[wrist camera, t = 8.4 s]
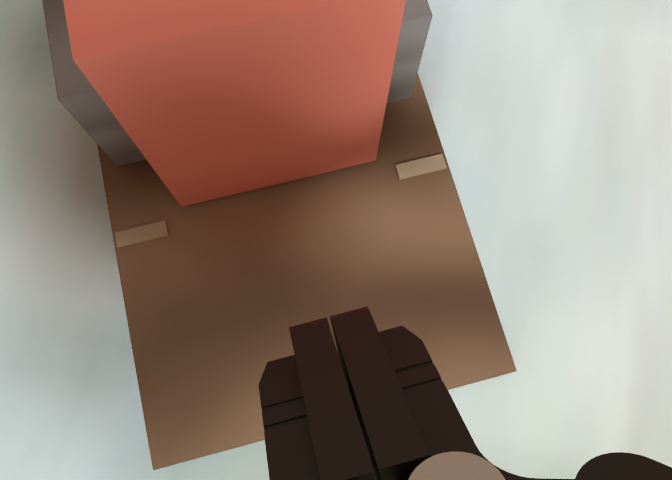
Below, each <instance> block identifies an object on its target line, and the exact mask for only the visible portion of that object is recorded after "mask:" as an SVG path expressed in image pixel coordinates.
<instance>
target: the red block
mask: <svg viewBox="0 0 672 480" xmlns="http://www.w3.org/2000/svg"><path fill="white" fill-rule="evenodd" d="M405 2H406V0H63V3H64V9H65V15H66V21H67V27H68V33H69V39H70V45H71V51H72V57H73V60H74V62H75V63H76V64H77V66H78V67H79V68H80V70H81V71H82V72H83V74H84V75H85V76H86V78H87V79H88V81H89V82H90V83H91V85H92V86H93V87H94V89H95V90H96V91H97V93H98V94H99V96H100V97H101V98H102V100H103V101H104V102H105V104H106V105H107V106H108V108H109V109H110V111H111V112H112V113H113V115H114V116H115V117H116V119H117V120H118V121H119V123H120V124H121V125H122V127H123V128H124V130H125V131H126V132H127V134H128V135H129V136H130V138H131V139H132V140H133V142H134V143H135V145H136V146H137V147H138V149H139V150H140V151H141V153H142V154H143V155H144V157H145V158H146V159H147V161H148V162H149V164H150V165H151V166H152V168H153V169H154V170H155V172H156V173H157V174H158V176H159V177H160V179H161V180H162V181H163V183H164V184H165V185H166V187H167V188H168V189H169V191H170V192H171V193H172V195H173V196H174V198H175V199H176V200H177V202H178V203H179V204H180V206H181V207H184V206H188V205H192V204H197V203H201V202H205V201H209V200H213V199H217V198H222V197H226V196H230V195H234V194H238V193H242V192H247V191H251V190H255V189H259V188H263V187H268V186H272V185H276V184H280V183H284V182H288V181H293V180H297V179H301V178H305V177H309V176H313V175H318V174H322V173H326V172H330V171H334V170H338V169H343V168H347V167H351V166H355V165H359V164H363V163H368V162H372V161H376V157H377V151H378V146H379V141H380V135H381V130H382V125H383V119H384V114H385V109H386V103H387V98H388V93H389V87H390V82H391V77H392V72H393V66H394V61H395V56H396V50H397V45H398V40H399V34H400V29H401V24H402V18H403V13H404V8H405Z"/></svg>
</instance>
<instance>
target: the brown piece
mask: <svg viewBox="0 0 672 480" xmlns="http://www.w3.org/2000/svg"><path fill="white" fill-rule="evenodd" d="M43 7H44V13H45V19H46V26H47V32H48V39H49V45H50V51H51V58H52V64H53V71H54V77H55V83H56V90H57V96H58V99H59V101H60V102H61V103H62V104H63V105H64V106H65V107H66V109H67V110H68V111H69V112H70V113H71V114H72V115H73V117H74V118H75V119H76V120H77V121H78V122H79V123H80V125H81V126H82V127H83V128H84V129H85V130H86V131H87V133H88V134H89V135H90V136H91V137H92V138H93V139H94V140H95V142H96V143H97V145H98V151H99V156H100V162H101V168H102V174H103V180H104V186H105V191H106V197H107V203H108V209H109V215H110V221H111V227H112V232H113V238H114V244H115V250H116V256H117V262H118V267H119V273H120V279H121V285H122V291H123V297H124V302H125V308H126V314H127V320H128V326H129V332H130V337H131V343H132V349H133V355H134V361H135V367H136V372H137V378H138V384H139V390H140V396H141V402H142V407H143V413H144V419H145V425H146V431H147V437H148V443H149V448H150V454H151V460H152V466H153V470H155V469H159V468H163V467H166V466H170V465H174V464H177V463H181V462H185V461H188V460H192V459H196V458H199V457H203V456H207V455H210V454H214V453H218V452H221V451H225V450H229V449H232V448H236V447H240V446H243V445H247V444H251V443H255V442H258V441H262V440H265V436H264V427H263V419H262V409H261V402H260V394H259V385H258V384H259V382H260V379H261V377H262V374H263V372H264V369H265V367H266V364H267V362H269V361H273V360H276V359H280V358H284V357H288V356H291V355H294V350H293V345H292V340H291V335H290V330H289V327H292V326H295V325H299V324H303V323H307V322H310V321H314V320H318V319H322V318H326V317H327V320H328V323H329V326H330V329H331V333H332V336H333V339H334V342H335V338H334V334H333V330H332V325H331V321H330V316H332V315H336V314H340V313H344V312H348V311H351V310H355V309H359V308H363V307H366V306H367V307H368V308H369V310H370V313H371V315H372V317H373V320H374V322H375V325H376V327H377V329H378V332H380V331H384V330H387V329H391V328H395V327H399V326H404V327H405V328H406V329H408V330H409V331H410V332H412V333H413V334H414V335H416V336H417V337H419V338H420V339H421V340H422V341H423V343H424V345H425V347H426V349H427V351H428V353H429V355H430V357H431V359H432V361H433V364H434V365H435V367H436V368H437V370H438V372H439V374H440V376H441V380H442V382H444V384H445V386H446V388H447V390H449V389H453V388H456V387H460V386H464V385H467V384H471V383H475V382H478V381H482V380H486V379H489V378H493V377H497V376H500V375H504V374H508V373H511V372H515V371H516V368H515V365H514V362H513V359H512V356H511V353H510V350H509V347H508V344H507V341H506V338H505V335H504V332H503V329H502V326H501V323H500V320H499V317H498V314H497V311H496V308H495V305H494V302H493V299H492V296H491V293H490V290H489V287H488V284H487V281H486V277H485V274H484V271H483V268H482V265H481V262H480V259H479V256H478V253H477V250H476V247H475V244H474V241H473V238H472V235H471V232H470V229H469V226H468V223H467V220H466V217H465V214H464V211H463V208H462V205H461V202H460V199H459V196H458V193H457V190H456V187H455V184H454V181H453V178H452V175H451V172H450V169H449V166H448V163H447V160H446V157H445V154H444V151H443V148H442V145H441V142H440V139H439V136H438V133H437V130H436V127H435V124H434V121H433V118H432V115H431V112H430V109H429V106H428V103H427V100H426V97H425V94H424V91H423V88H422V85H421V82H420V79H419V76H418V73H417V72H418V68H419V64H420V61H421V57H422V53H423V49H424V45H425V41H426V38H427V34H428V30H429V26H430V22H431V19H432V13H431V10H430V7H429V4H428V2H427V0H406V2H405V8H404V13H403V18H402V24H401V29H400V34H399V40H398V45H397V50H396V56H395V61H394V66H393V72H392V77H391V82H390V87H389V93H388V98H387V103H386V109H385V114H384V119H383V125H382V130H381V135H380V141H379V146H378V151H377V157H376V161H372V162H368V163H363V164H359V165H355V166H351V167H347V168H343V169H338V170H334V171H330V172H326V173H322V174H318V175H313V176H309V177H305V178H301V179H297V180H293V181H288V182H284V183H280V184H276V185H272V186H268V187H263V188H259V189H255V190H251V191H247V192H242V193H238V194H234V195H230V196H226V197H222V198H217V199H213V200H209V201H205V202H201V203H197V204H192V205H188V206H184V207H181V206H180V204H179V203H178V202H177V200H176V199H175V198H174V196H173V195H172V193H171V192H170V191H169V189H168V188H167V187H166V185H165V184H164V183H163V181H162V180H161V179H160V177H159V176H158V174H157V173H156V172H155V170H154V169H153V168H152V166H151V165H150V164H149V162H148V161H147V159H146V158H145V157H144V155H143V154H142V153H141V151H140V150H139V149H138V147H137V146H136V145H135V143H134V142H133V140H132V139H131V138H130V136H129V135H128V134H127V132H126V131H125V130H124V128H123V127H122V125H121V124H120V123H119V121H118V120H117V119H116V117H115V116H114V115H113V113H112V112H111V111H110V109H109V108H108V106H107V105H106V104H105V102H104V101H103V100H102V98H101V97H100V96H99V94H98V93H97V91H96V90H95V89H94V87H93V86H92V85H91V83H90V82H89V81H88V79H87V78H86V76H85V75H84V74H83V72H82V71H81V70H80V68H79V67H78V66H77V64H76V63H75V62H74V60H73V57H72V51H71V45H70V39H69V33H68V27H67V21H66V15H65V9H64V3H63V0H43ZM335 346H336V343H335ZM336 349H337V347H336Z"/></svg>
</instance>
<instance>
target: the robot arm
mask: <svg viewBox="0 0 672 480" xmlns="http://www.w3.org/2000/svg"><path fill="white" fill-rule="evenodd" d="M330 321H331V325H332V330H333V334H334V338H335V342H334V339H333V336H332V333H331V329H330V326H329V323H328V320H327V317H326V318H322V319H318V320H314V321H310V322H307V323H303V324H299V325H295V326H292V327H289V330H290V335H291V340H292V345H293V350H294V355H291V356H288V357H284V358H280V359H276V360H273V361H269V362H267V364H266V367H265V369H264V372H263V374H262V377H261V379H260V382H259V384H258V385H259V394H260V402H261V409H262V419H263V427H264V436H265V444H266V452H267V461H268V469H269V478H270V480H672V468H671V467H669V466H666V465H664V464H662V463H659V462H657V461H654V460H652V459H649V458H646V457H644V456H641V455H636V454H632V453H622V452H621V453H608V454H603V455H600V456H597V457H595V458H593V459H591V460H589V461H588V462H587V463H586V464H584V465H583V466H582V468H581V469H580V470H579V472H578V474H577V476H576V478H575V479H535V478H526V477H521V476H517V475H514V474H511V473H508V472H506V471H504V470H502V469H499V468H498V467H496V466H495V465H493V464H492V463H491V462H489V461H488V460H487V459H486V458H485V457H484V456H483V455H482V454H481V453H480V451H479V450H478V448H477V447H476V445H475V443H474V441H473V439H472V437H471V435H470V433H469V431H468V429H467V427H466V425H465V423H464V422H463V420H462V418H461V416H460V414H459V412H458V410H457V408H456V406H455V404H454V402H453V400H452V398H451V396H450V394H449V392H448V390H447V388H446V386H445V384H444V382H442V380H441V376H440V374H439V372H438V370H437V368H436V367H435V365H434V364H433V361H432V359H431V357H430V355H429V353H428V351H427V349H426V347H425V345H424V343H423V341H422V340H421V339H420V338H419V337H417V336H416V335H414V334H413V333H412V332H410V331H409V330H408V329H406V328H405V327H404V326H399V327H395V328H391V329H387V330H384V331H380V332H378V329H377V327H376V325H375V322H374V320H373V317H372V315H371V313H370V310H369V308H368V307H367V306H366V307H363V308H359V309H355V310H351V311H348V312H344V313H340V314H336V315H332V316H330ZM335 343H336V346H335ZM336 347H337V349H336Z"/></svg>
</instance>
